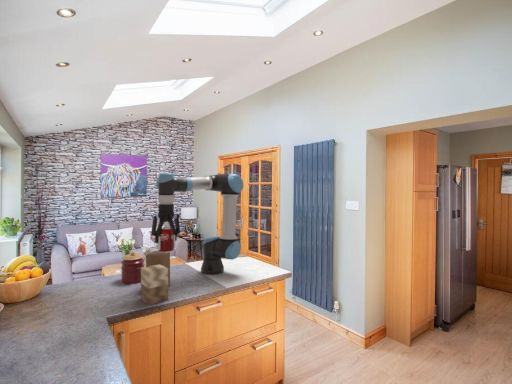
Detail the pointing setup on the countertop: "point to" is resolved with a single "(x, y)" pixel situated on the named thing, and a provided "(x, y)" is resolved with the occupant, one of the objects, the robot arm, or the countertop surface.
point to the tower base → (154, 294)
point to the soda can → (166, 240)
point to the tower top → (154, 276)
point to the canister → (132, 268)
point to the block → (159, 260)
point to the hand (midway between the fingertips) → (166, 248)
